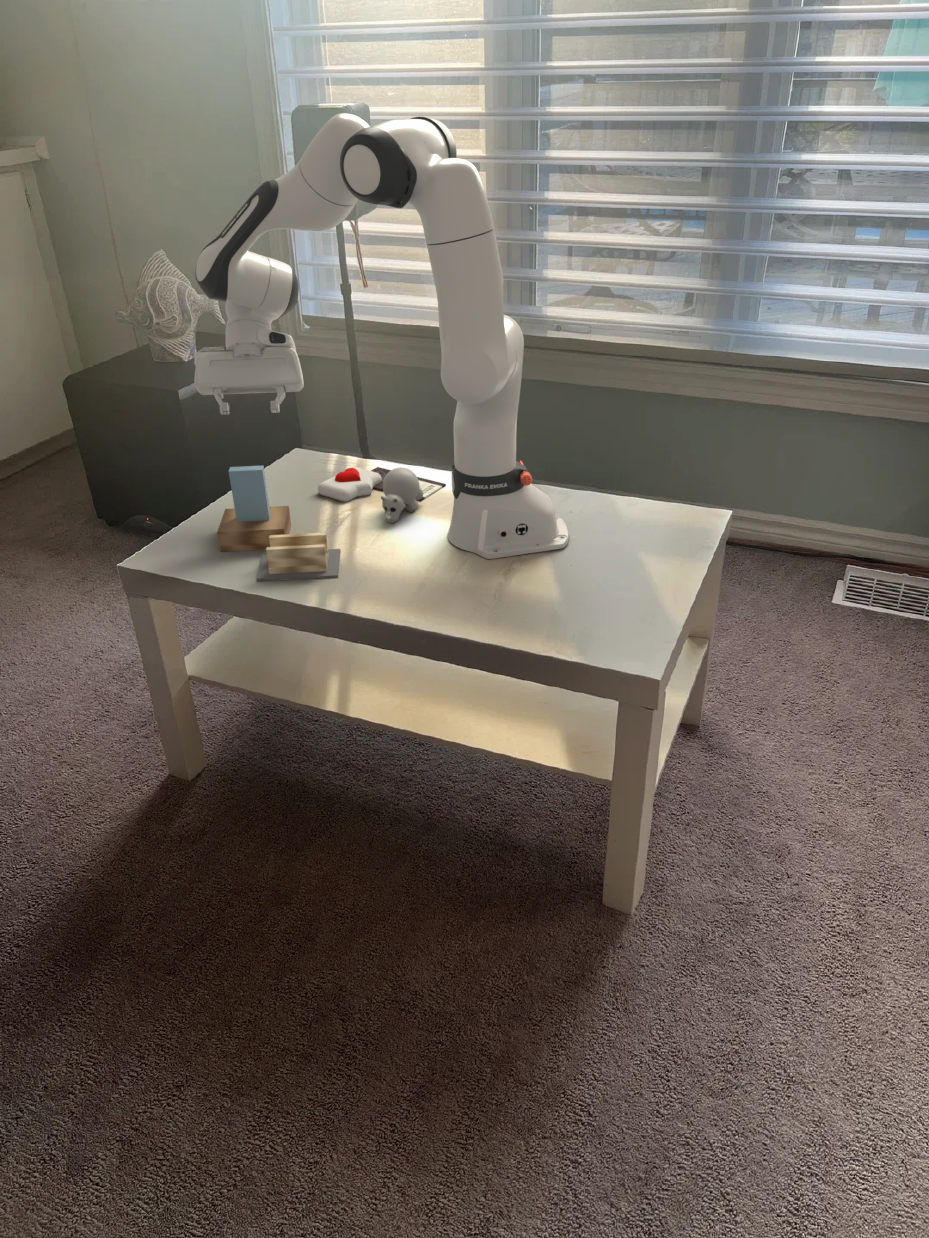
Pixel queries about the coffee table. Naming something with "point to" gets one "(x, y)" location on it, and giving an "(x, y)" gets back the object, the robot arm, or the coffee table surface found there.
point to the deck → (252, 530)
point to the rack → (297, 553)
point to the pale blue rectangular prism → (249, 493)
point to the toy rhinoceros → (400, 493)
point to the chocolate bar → (425, 484)
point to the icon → (350, 484)
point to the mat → (330, 573)
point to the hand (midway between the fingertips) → (249, 412)
